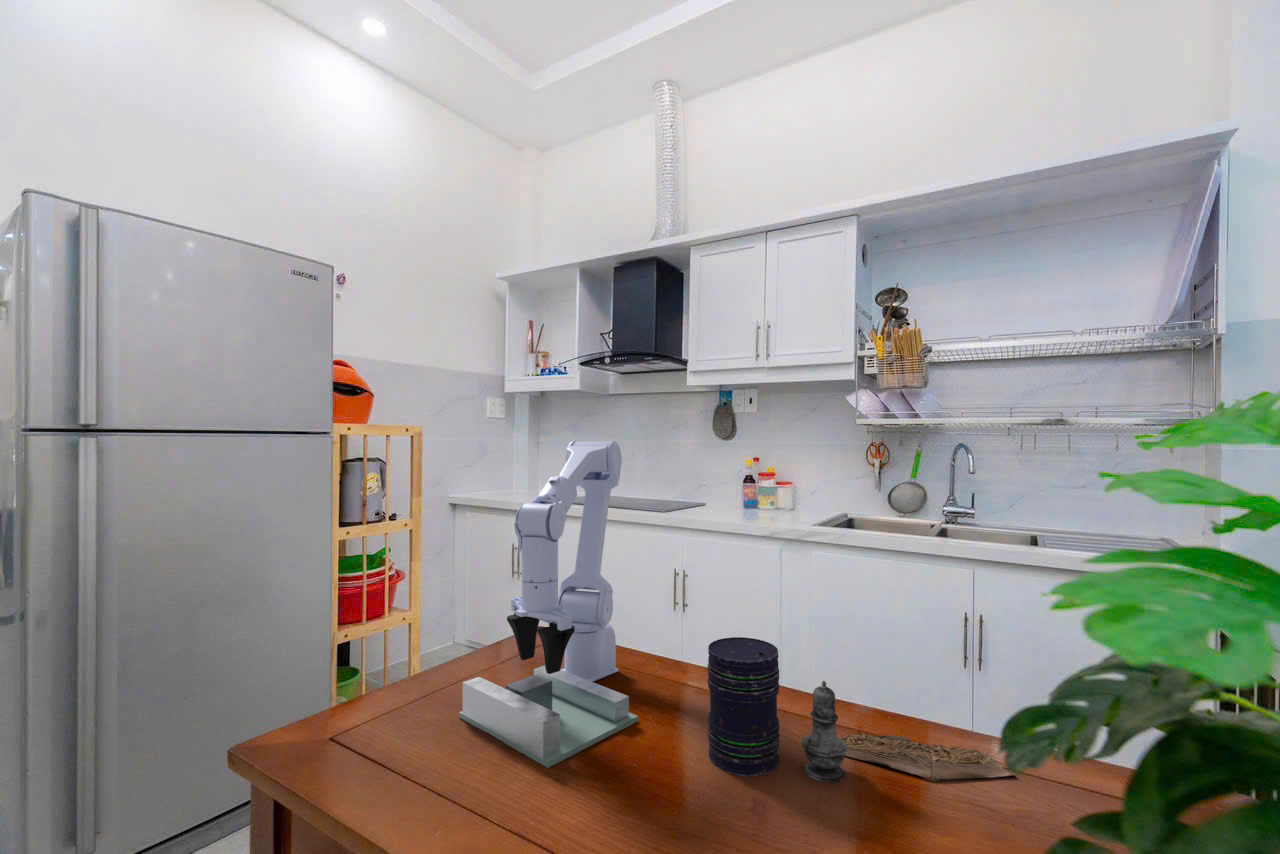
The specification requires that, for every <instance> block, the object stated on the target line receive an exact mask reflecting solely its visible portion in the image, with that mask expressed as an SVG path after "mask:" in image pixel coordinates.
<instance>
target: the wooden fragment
mask: <svg viewBox="0 0 1280 854" xmlns="http://www.w3.org/2000/svg"><path fill="white" fill-rule="evenodd" d="M838 738H839V739H841V740H842V741H843V742H844V743H845V744H846V745H847V748H848V750H847V752H846V753H845V757H849V758H852V759H857V760H861V761H864V762H865V761H866V762H871V763H876V764H880V765H883V766H887V767H888V768H892V769H896V770H899V771H902V772H906V773H909V774H911V775H917V776H920V777H923V778H926V779H928V780H930V781H932V782H937V781H941V780H954V779H957V780H958V779H978V778H979V779H981V778H1000V777H1009V776H1014V778H1016V779H1017V775H1016V774H1014V775H1011V774H1009V773H1007V772H1006V771H1005V770H1004V769H1003V766H1004V765H1003V764H1002V763H1000V762H998V761H997V760H995V759H993V757H992V756H991V755H989V754H988V753H986V752H984V751H983V752H982V751H979V750H978V749H976V748H973V749H971V748H966V747H961V746H959V747H958V746H952V747H951V748H950V747H947V746H945V745H941V744H939V745H937V744H932V745H931V746H930V745H929V744H924V743H921V742H918V741H912V740H911V739H909V738H908V737H904V736H899V735H894V734H891V735H889V734H888V735H887V734H886V735H881V734H878V735H872V734H867V733H864V732H861V733H859V734H855V733H854V734H848V735H846V736H844V737H838ZM1002 765H1003V766H1002Z"/></svg>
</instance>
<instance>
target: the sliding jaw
mask: <svg viewBox="0 0 1280 854" xmlns="http://www.w3.org/2000/svg"><path fill="white" fill-rule="evenodd" d="M535 674H538V675H540V676H542V677H545V678H547V679H550V680H552V695H554V696H557V697H559V698H561V699H563V700H566V701H568V702H570V703H573V704H575V705H577V706H579V707H582V708H584V709H586V710H589V711H591V712H593V713H595V714H598V715H600V716H602V717H604V718H607V719H609V720H611V721H614V722H617V721H619V720H621V719H623V718H625V717H627V716H629V713H630V696H629V695H626V694H624V693H621V692H619V691H616V690H615V689H611V688H608V687H606V686H603V685H602V684H601V685H600V684H598V683H595V681H593V682H591V681H588V680H586V679H583V678H581V677H578V676H576V675H573V674H571V673H568V672H565V671H563V670H561V669H560V671H558V672H555V673H552V674H548V673H547V672H546V668H545V664H544V665H541V666H539V667H536V668H533V675H535Z"/></svg>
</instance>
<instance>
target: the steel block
mask: <svg viewBox="0 0 1280 854" xmlns="http://www.w3.org/2000/svg"><path fill="white" fill-rule="evenodd" d="M505 689H507V690H509V691H511V692H513V693H515V694H517V695H520V696H522V697H524V698H526V699H528V700H530V701H532V702H535V703H537V704H539V705H541V706H543V707H545V708H547V709H550V710H552V680H550V679H547V678H545V677H542V676H540V675H538V674H535V675H534V674H533V675H530V676H527V677H525V678H523V679H522V678H521V679H519V680H516V681H514V682H511V683H508V684H505Z"/></svg>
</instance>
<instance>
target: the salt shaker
mask: <svg viewBox="0 0 1280 854" xmlns="http://www.w3.org/2000/svg"><path fill="white" fill-rule="evenodd" d="M809 716H810V717H811V718H812V730H811V734H808V735H805V736H804V737H802V738H801V743H800V744H801V746H802V747H803V750H804V751H803V752H804V754H805V757H806V758H807V760H808V761H807V762H806V763H805V764H804V766H803V771H804V773H805V774H806V775H807V776H808V777H809V778H810V779H812V780H815V781H818V782H822V783H828V784H835V783H839V782H841V781H844V779H846V771H845V769H843V767H842V766H840V765H841V764H843V762H844V759H845V757H846V756H845V753H846V752H847V750H848V748H847V745H846V744H845V743H844V742H843V741H842V740H841V739H839V738H840V737H838V736H837V721H838V720H839V716H838V714H837V713H836V694H835V691H833V689H831V688H830V687H828V686H827V682H826V681H825V680H823V681H821V685H820V686H817V687H815V688H814V690H813V692H812V710H811V711H810V714H809Z"/></svg>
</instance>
